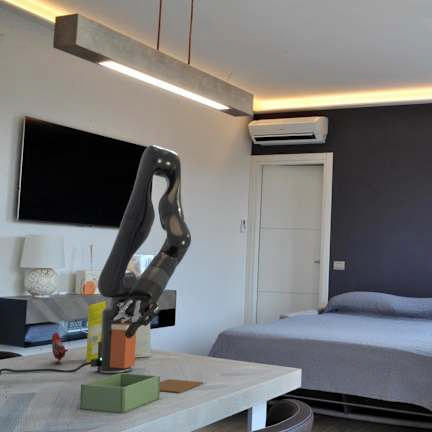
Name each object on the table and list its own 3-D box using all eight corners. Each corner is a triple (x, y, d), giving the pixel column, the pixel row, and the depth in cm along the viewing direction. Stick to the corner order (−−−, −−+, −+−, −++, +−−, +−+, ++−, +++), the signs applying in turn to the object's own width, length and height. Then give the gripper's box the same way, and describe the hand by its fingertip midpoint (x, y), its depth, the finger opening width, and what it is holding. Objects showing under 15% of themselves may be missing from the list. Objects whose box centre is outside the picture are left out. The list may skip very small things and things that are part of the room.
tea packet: (109, 367, 154) (111, 324, 155) (120, 364, 158) (122, 322, 159) (124, 368, 153) (126, 325, 153) (134, 365, 157) (136, 323, 157)
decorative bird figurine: (57, 359, 210) (58, 331, 210) (71, 368, 197) (72, 337, 197) (48, 360, 208) (49, 332, 208) (62, 369, 195) (63, 338, 195)
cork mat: (142, 389, 169) (142, 388, 169) (168, 380, 181) (168, 379, 181) (179, 393, 166) (179, 391, 166) (203, 383, 178) (203, 382, 178)
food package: (102, 355, 219) (104, 301, 220) (105, 355, 219) (107, 301, 220) (84, 363, 204) (87, 305, 205) (88, 363, 204) (90, 305, 205)
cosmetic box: (150, 356, 218) (151, 316, 219) (133, 358, 215) (134, 317, 215) (145, 353, 225) (146, 313, 226) (128, 354, 222) (130, 314, 222)
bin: (79, 408, 149) (80, 384, 150) (119, 394, 164) (120, 372, 164) (122, 412, 146) (123, 388, 146) (159, 398, 160) (160, 375, 161)
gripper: (177, 296, 167) (148, 346, 155) (134, 293, 171) (102, 342, 158) (167, 278, 162) (135, 328, 150) (122, 276, 166) (88, 325, 153)
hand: (118, 335), depth 154 cm, fingers closed on tea packet, 4 cm apart
